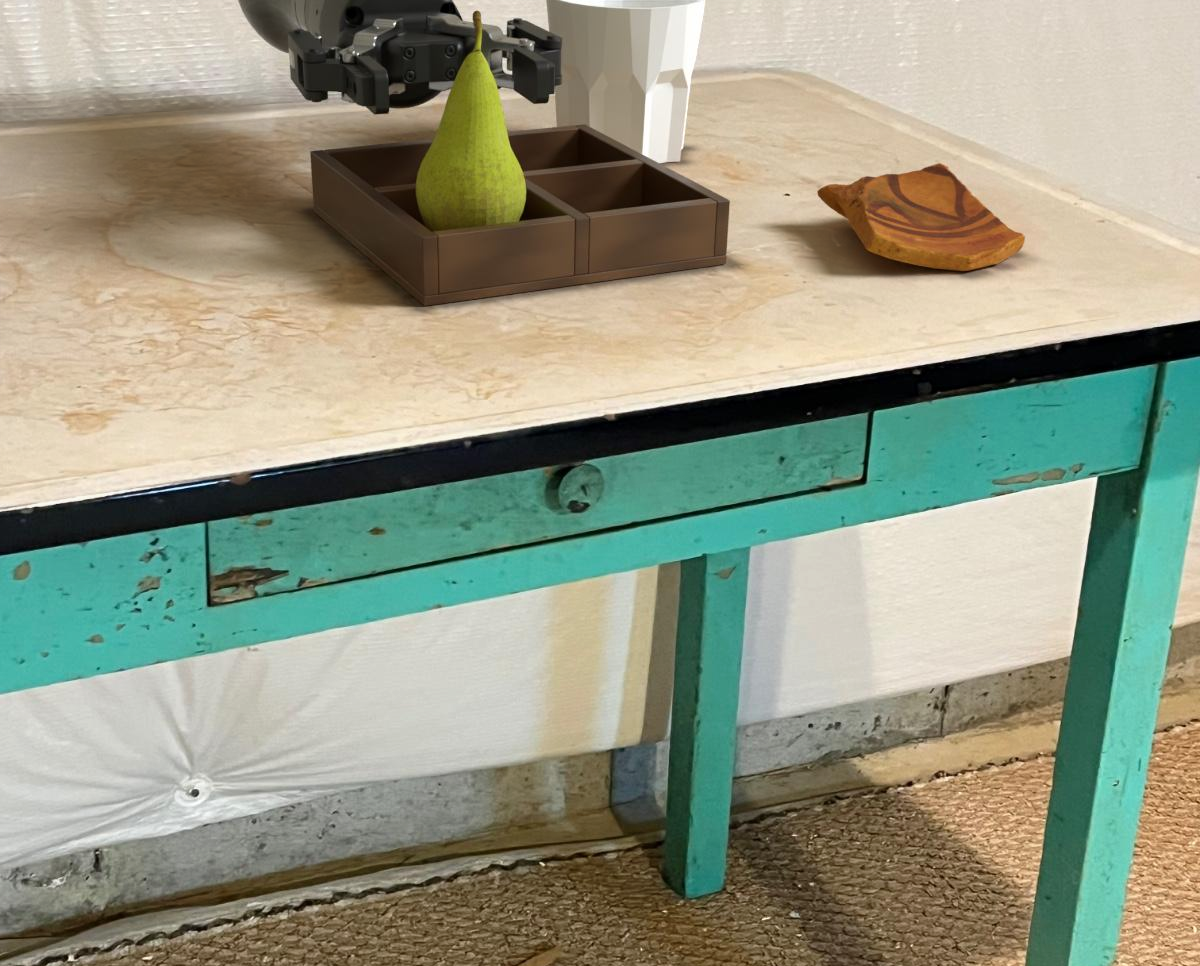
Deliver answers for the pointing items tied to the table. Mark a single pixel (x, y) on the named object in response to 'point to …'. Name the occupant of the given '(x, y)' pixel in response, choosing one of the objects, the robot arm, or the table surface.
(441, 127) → the fruit
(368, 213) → the grid
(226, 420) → the table surface
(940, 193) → the pottery fragment
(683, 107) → the cup
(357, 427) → the table surface
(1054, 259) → the table surface
